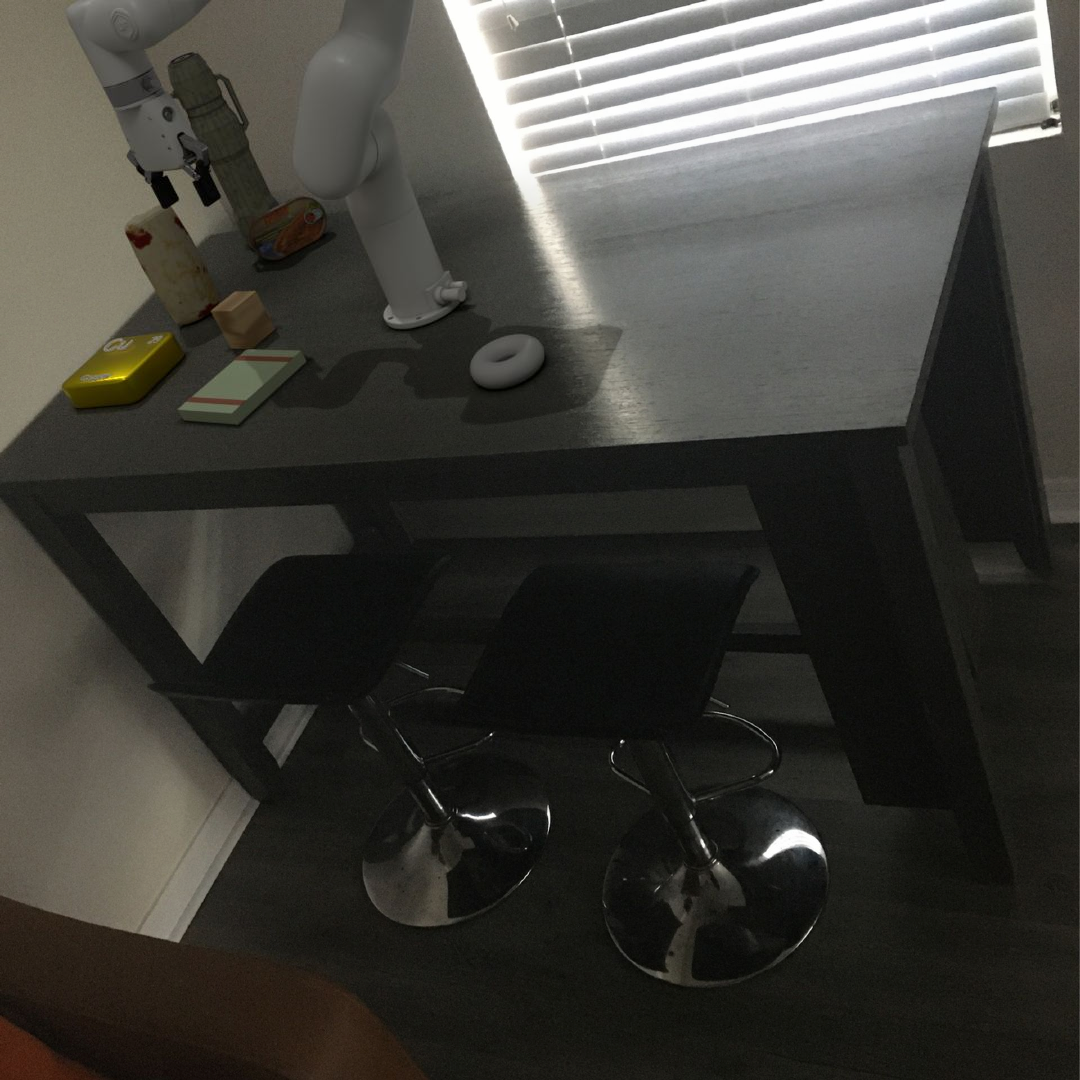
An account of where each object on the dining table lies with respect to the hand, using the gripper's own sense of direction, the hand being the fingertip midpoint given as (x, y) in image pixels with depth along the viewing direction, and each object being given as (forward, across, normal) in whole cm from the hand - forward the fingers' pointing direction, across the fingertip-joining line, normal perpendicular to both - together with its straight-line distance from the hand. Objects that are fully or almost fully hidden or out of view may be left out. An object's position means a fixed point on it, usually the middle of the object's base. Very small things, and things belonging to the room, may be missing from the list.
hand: (192, 203), depth 162 cm
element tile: (+23, +17, +14) cm, 33 cm away
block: (+23, 0, +1) cm, 23 cm away
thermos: (+23, +30, -34) cm, 51 cm away
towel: (+23, -12, +15) cm, 30 cm away
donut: (+22, -56, +7) cm, 61 cm away
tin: (+23, +18, -30) cm, 41 cm away
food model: (+23, +20, -5) cm, 31 cm away
